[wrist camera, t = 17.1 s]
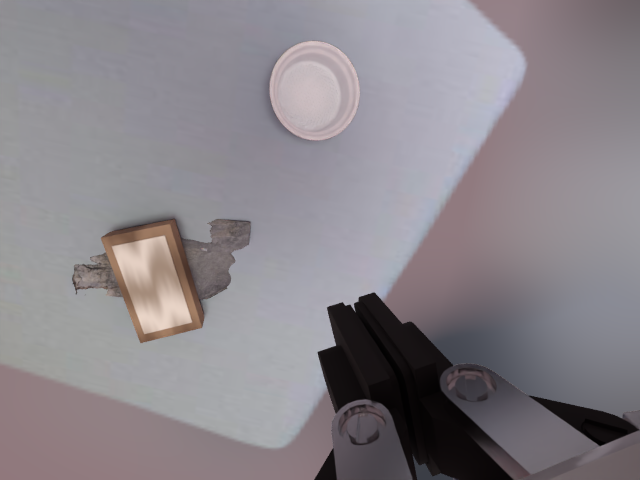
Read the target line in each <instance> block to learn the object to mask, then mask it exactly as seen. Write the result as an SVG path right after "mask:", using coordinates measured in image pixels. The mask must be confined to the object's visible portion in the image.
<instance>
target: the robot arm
mask: <svg viewBox="0 0 640 480" xmlns="http://www.w3.org/2000/svg"><path fill="white" fill-rule="evenodd" d="M354 307H355V311H354V310H353V308H352V307H351V305H347V306H345V305H344V303H343V302H342V303H339V304H336V305H332V306H329V307H327V310H328V314H329V318H330V323H331V327H332V331H333V335H334V339H335V343H336V346H334V347H331V348H328V349H325V350H322V351H319V352H318V356H319V360H320V364H321V367H322V371H323V375H324V378H325V382H326V385H327V388H328V392H329V395H330V398H331V401H332V404H333V407H334V410H335V413H336V415H335V417H334V419H333V421H332V430H331V431H332V440H333V449H332V451H331V452H330V454H329V456H328V458H327V459H326V461H325V463H324V464H323V466H322V468H321V469H320V471H319V473H318V475H317V476H316V478H315V479H314V480H417V477H416V471H415V466H414V461H413V456H414V457H415V459H416V461H417V463H418V464H419V465H422V464H424V463H425V464H426V465H427V467H428V469H429V471H430V472H431V475H432V476H435V475H437V474H440V473H442V474H445V475H447V476H450V477H453V478H454V480H640V410H638V411H632V412H624V413H623V417H622V418H619V417H618V416H615V415H612V414H609V413H606V412H603V411H598V410H593V409H589V408H584V407H580V406H575V405H570V404H566V403H561V402H557V401H552V400H547V399H543V398H538V397H534V396H528V395H526V394H525V393H524V392H522V391H521V390H519V389H518V388H516V387H515V386H514V385H512V384H511V383H509V382H508V381H506V380H505V379H504V378H502V377H501V376H499V375H498V374H497V373H495V372H494V371H492V370H490V369H488V368H486V367H484V366H481V365H477V364H468V363H466V364H458V365H455V366H453V365H452V364H451V362H449V360H448V359H447V358H446V357H445V356H444V355H443V354H442V353H441V352H440V351H439V350H438V349H437V348H436V347H435V346H434V344H433V343H431V341H430V340H429V339H428V338H427V337H426V336H425V335H424V334H423V333H422V332H421V331H420V330H419V329H418V328H417V327H416V325H414V323H412V322H407V323H404V324H402V323H401V322H400V321H399V320H398V319H397V317H396V316H395V315H394V314H393V313H392V312H391V311H390V309H389V308H388V307H387V306H386V305H385V304H384V303H383V301H382V300H381V299H380V298H379V297H378V296H377V295H376V293H371V294H368V295H364V296H361V297H359V302H356V303H354ZM355 312H356V313H355ZM412 454H413V455H412Z"/></svg>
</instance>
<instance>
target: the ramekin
mask: <svg viewBox="0 0 640 480" xmlns="http://www.w3.org/2000/svg"><path fill="white" fill-rule="evenodd" d="M269 92H270V100H271V104H272V107H273V110H274V112H275V114H276V116H277V118H278V119H279V121H280V122H281V123H282V124H283V126H284V127H285V128H286V129H288V130H289V131H290V132H291V133H293V134H295V135H296V136H298V137H300V138H303V139H307V140H313V141H318V140H325V139H329V138H332V137H334V136H336V135H337V134H339V133H340V132H342V131H343V130H344V129H345V128H346V127H347V126H348V125H349V124H350V122H351V121H352V119H353V117H354V116H355V114H356V111H357V108H358V104H359V98H360V87H359V81H358V76H357V73H356V71H355V68H354V66H353V65H352V63H351V61H350V60H349V59H348V57H347V56H346V55H345V54H344V53H343V52H342V51H340V50H339V49H338V48H337V47H335V46H333V45H331V44H328V43H325V42H320V41H307V42H302V43H299V44H296V45H294V46H292V47H291V48H289V49H288V50H287V51H285V52H284V53H283V54H282V55H281V57H280V58H279V59H278V61H277V62H276V64H275V66H274V68H273V71H272V74H271V78H270V85H269Z"/></svg>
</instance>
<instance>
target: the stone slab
mask: <svg viewBox="0 0 640 480" xmlns="http://www.w3.org/2000/svg"><path fill="white" fill-rule="evenodd" d="M207 224H210V225H211V226H212V228H211V230H210V232H211V234H212V235H211V238H212V242H211V243H204V242H198V241H194V240H188V239H183V238H180V239H181V242H182V245H183V248H184V252H185V255H186V258H187V262H188V265H189V268H190V271H191V275H192V278H193V281H194V285H195V288H196V291H197V294H198V298H199V300H201V299H208V298H211V297H212V296H214V295H216V294H218V293H219V292H221V291H223V290H225V289H227V286H228V285H229V284H230V281H231V276H230V274H229V273H228V270H229V268H230V266H231V265H232V264H233V263H235V259H234V257H233V256H232V255H231V253H232V252H233V251H234V250H238V249H242V248H243V247H245V246H247V245H248V244H249V236H250V222H241V221H230V220H221V219H217V220H214V221H212V222H211V223H210V222H209V223H207ZM90 259H91V261H93V262H95V263H98V264H97V265H85V264H83V265H79V264H78V265H75V268H74V275H73V278H72V280H73V284H74V286H75V290H76V294H77V289H88V288H104V289H106V290H107V289H108V291H107V294H106V296H115V297H123V295H122V293H121V290H120V287H119V285H118V282H117V280H116V277H115V274H114V272H113V269H112V266H111V264H110V261H109V258H108V256H107V253H104V254H102V255H98V256H93V257H90ZM85 295H86V294H85Z"/></svg>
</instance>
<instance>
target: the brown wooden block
mask: <svg viewBox="0 0 640 480" xmlns="http://www.w3.org/2000/svg"><path fill="white" fill-rule="evenodd" d="M101 240H102V243H103V245H104V248H105V250H106V253H107V256H108V258H109V261H110V264H111V266H112V269H113V272H114V274H115V277H116V280H117V282H118V285H119V287H120V290H121V293H122V295H123V298H124V301H125V303H126V306H127V309H128V311H129V314H130V317H131V319H132V322H133V325H134V327H135V330H136V332H137V335H138V338H139V340H140V343H143V342H147V341H151V340H155V339H159V338H163V337H167V336H171V335H175V334H179V333H183V332H187V331H191V330H195V329H199V328H202V325H203V321H204V314H203V311H202V308H201V304H200V301H199V298H198V294H197V291H196V288H195V285H194V281H193V278H192V275H191V271H190V268H189V265H188V262H187V258H186V255H185V252H184V248H183V245H182V242H181V239H180V235H179V232H178V229H177V225H176V222H175V219H172V220H167V221H162V222H157V223H152V224H147V225H142V226H137V227H132V228H127V229H122V230H117V231H112V232H109V233H108V234H106V235H105V236H103V237H101Z"/></svg>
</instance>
